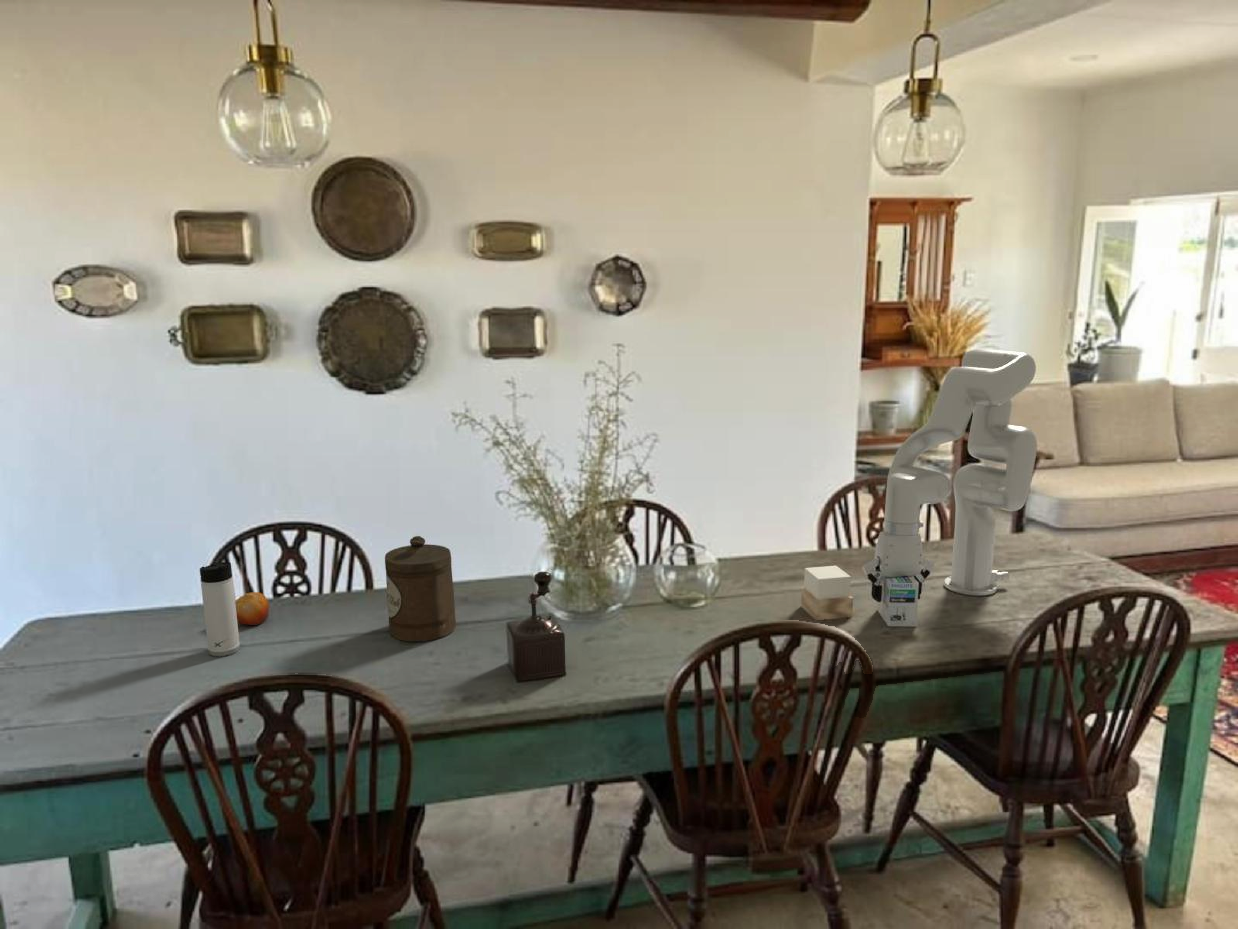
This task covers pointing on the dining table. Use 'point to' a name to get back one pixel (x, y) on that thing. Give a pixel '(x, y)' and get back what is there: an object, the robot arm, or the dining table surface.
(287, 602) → the dining table surface
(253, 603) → the fruit
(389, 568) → the wooden container
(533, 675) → the manual coffee grinder
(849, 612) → the tower base
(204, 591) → the travel mug
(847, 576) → the tower top
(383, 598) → the dining table surface
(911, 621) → the light bulb box
